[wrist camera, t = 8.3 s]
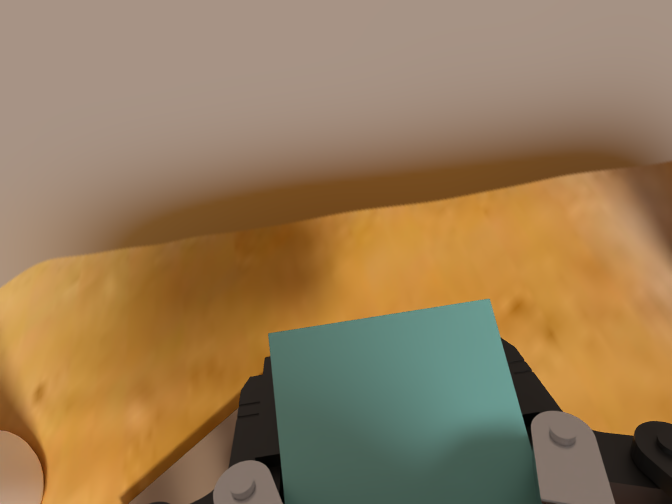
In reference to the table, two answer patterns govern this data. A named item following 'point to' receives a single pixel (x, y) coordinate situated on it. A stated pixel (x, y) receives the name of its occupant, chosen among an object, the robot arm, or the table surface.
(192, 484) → the post board
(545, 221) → the table surface
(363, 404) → the tall teal pillar
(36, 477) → the alcohol
